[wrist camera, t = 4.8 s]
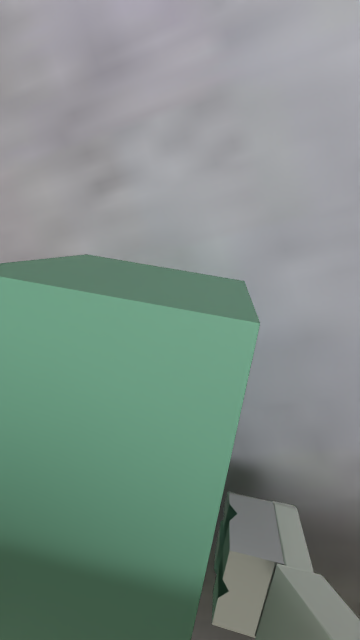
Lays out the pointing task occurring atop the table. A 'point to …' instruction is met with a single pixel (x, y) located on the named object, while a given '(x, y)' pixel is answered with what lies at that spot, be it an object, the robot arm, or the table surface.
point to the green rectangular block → (114, 443)
